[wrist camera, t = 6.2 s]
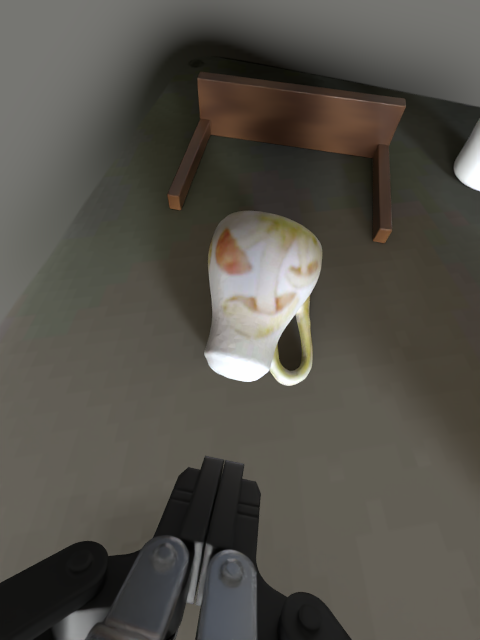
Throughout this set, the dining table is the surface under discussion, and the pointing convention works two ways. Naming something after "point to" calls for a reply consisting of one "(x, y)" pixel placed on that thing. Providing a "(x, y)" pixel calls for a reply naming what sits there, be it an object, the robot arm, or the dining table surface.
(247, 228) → the mug
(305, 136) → the walnut rack
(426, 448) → the dining table surface
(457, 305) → the dining table surface
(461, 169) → the drinking glass
